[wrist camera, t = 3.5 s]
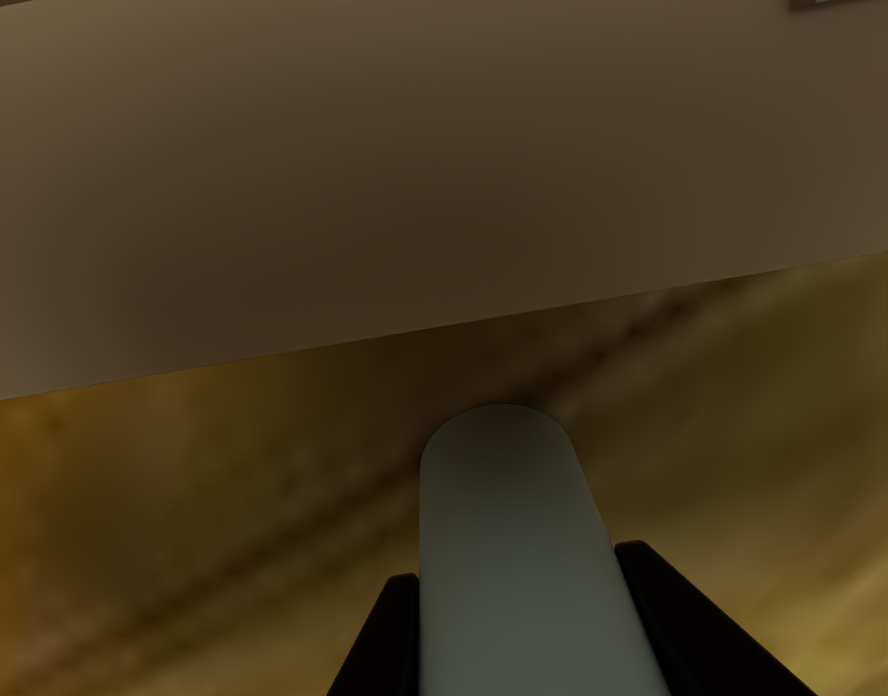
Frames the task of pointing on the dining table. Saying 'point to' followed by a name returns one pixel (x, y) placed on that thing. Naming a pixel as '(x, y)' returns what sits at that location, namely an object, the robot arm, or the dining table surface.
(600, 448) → the dining table surface
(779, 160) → the socket block
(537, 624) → the dowel
